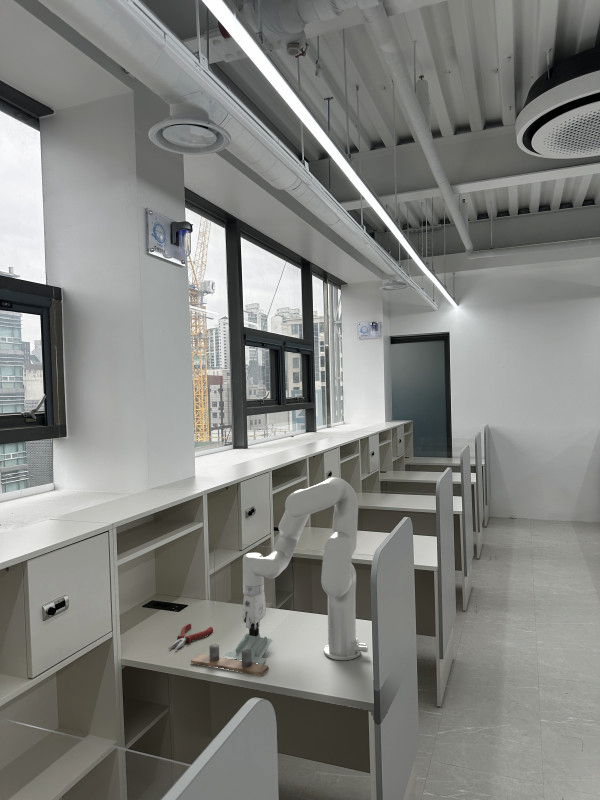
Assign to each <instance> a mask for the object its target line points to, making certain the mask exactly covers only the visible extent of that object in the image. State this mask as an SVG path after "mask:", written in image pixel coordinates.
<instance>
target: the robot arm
mask: <svg viewBox="0 0 600 800" xmlns="http://www.w3.org/2000/svg"><path fill="white" fill-rule="evenodd" d="M333 506H334V507H333ZM284 507H285V510H284V512H283V515H282V517H281V519H280V521H279V524H278V527H277V528H278V531H279V534H278V537H277V541H276V543H275V545H274V547H273V550H272V552H271V553H269V555H267V556H263V554H261V553H260V552H248V553H245V554H244V555H243V557H242V593H243V603H242V620H243V623H245V628H247V629H248V634H249V635H250V636H256V637H257V636H258V634H260V621H261V620H263V619H264V618H265V616H266V614H267V607H266V595H265V594H266V593H265V579H264V578H267V579H275V578H277V577H278V576H280V574H281V573H282V572H283V571H284V570H286V568H287V567H288V565H289V563H290V561H291V559H292V557H293V555H294V553H295V551H296V549H297V546H298V543H299V541H300V540H301V539H300V538H301V535H302V533H303V530H304V528H305V526H306V524H307V522H308V520H309V518H310V515H312V514H314V513H317V512H321V511H323V510H326V509H329V508H330V507H333V508H334V511H333V516H332V528H331V534H330V536H329V537H328V539H327V540H326V541H325V543H324V548H323V552H322V553H323V554H322V563H321V564H322V565H321V577H320V580H321V581H320V582H321V587H322V589H323V591H324V592H325V594H327V626H328V627H327V635H328V636H327V637H328V638H327V639H328V643H327V644H326V645H324V647H323V653H324V655H325V656H326V657H328V658H330V659H332V660H335V661H336V660H337V661H350V660H353V659H356V658H359V656H360V655H361V654H362V653H368V652H369V647H368V646H367V643H364V642H363V643H362V642H361V643H360V641H359V637H357V636H356V634H357V633H356V632H357V631H356V626H357V624H356V620H357V619H356V588H357V572H356V569H355V567H354V564H353V563H352V560H353V558H352V557H353V555H354V553H355V552H356V549H357V538H358V537H357V536H358V520H359V518H358V516H359V500H358V497H357V493H356V491H355V489H354V488H353V487H352V485H351V484H350V483H349V482H347V481H346V480H345V479H343V478H341V477H335V476H332V477H329V478H327V479H325V480H323V481H322V482H320V483H318V484H316V485H313V486H309V487H308V488H300V489H298V490H295V491H293V492H292V493H291V494H289V495H288V496H287V498H286V500H285V504H284Z"/></svg>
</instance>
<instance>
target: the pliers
mask: <svg viewBox="0 0 600 800" xmlns="http://www.w3.org/2000/svg"><path fill="white" fill-rule="evenodd" d="M191 628H192V623H187V624H186V625H184V626H183V627H182V628H181V631H180V634H179V635H178V636H177V637H176V640H175V642H174V643H172V645H170V647H168V650H171V649H174V648H175V649H174V651H176V650H178V649H180V648H182V647H184V646H185V645H186V644H189V645H191V644H192V642H194V640H195V641H198V640H201V639H203V638H202V637H204V638H206V637H205V636H207V635H209V634H210V633H211V632H212V633H213V631H214V629H213V626H209V627H208V628H207V629H205V630H202V631H199V632H195V633H193V634H190V635H186V636H185V634H186V633H187V632H188V631H189V630H191ZM186 631H187V632H186ZM212 633H211V634H212ZM211 634H210V635H211ZM210 635H209V636H210ZM207 637H208V636H207ZM200 638H201V639H200ZM197 639H198V640H197ZM190 643H191V644H190Z"/></svg>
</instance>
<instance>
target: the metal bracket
mask: <svg viewBox="0 0 600 800" xmlns="http://www.w3.org/2000/svg"><path fill="white" fill-rule="evenodd" d="M272 642H273V639H272V638H268V637H267V636H262V637H261V634H260V633H259V634H258V636H257V637H256V636H250V635H249V633H245V635H244V636H243V637H242V638H241V640H240V641H239V643H238V644H237V646H236V647H235V648H234V649H233V651H226V652H225V653H224V655H223V657H224V656H228V657H233V658H236V659H238V660H242V650H245V649H249V650H251V652H252V663H258V664H263V665H265V662H266V660H267V658H264V657H263V656H264V654H265V653H266V652H267V649H268V648H269V647H270V645H271V643H272Z"/></svg>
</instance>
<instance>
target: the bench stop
mask: <svg viewBox="0 0 600 800" xmlns="http://www.w3.org/2000/svg"><path fill="white" fill-rule="evenodd" d="M208 648H209V655H208V654H207V655H206V654H201V653H199V654H197V655H196V656H194V657H193V658H192V659H190V664H191V663H193V664H192V665H195V664H199V665H198V666H200V665H205V666H204V667H206V666H211V667H218V668H224V669H229V670H234V671H238V672H237V673H240V672H242V673H241V674H245V673H247V675H252V676H258V677H263V676H264V675H265V674H266V673H267V672H268V670H269V669H270V668H269V665H267V664H263V665H262V664H256V663H252V652H251V650H249V649H245V650H242V661H238V660H233V659H227V658H223V657H220V645H219V644H217V643H213V644H210V645H209V647H208ZM211 667H210V668H211ZM234 671H233V672H234Z"/></svg>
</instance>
